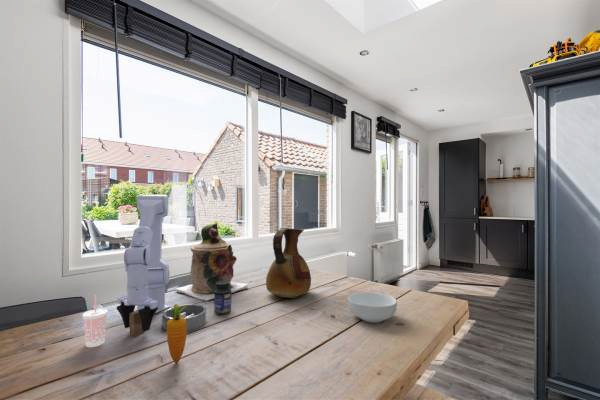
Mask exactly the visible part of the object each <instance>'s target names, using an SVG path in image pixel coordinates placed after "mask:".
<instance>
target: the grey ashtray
mask: <svg viewBox="0 0 600 400" xmlns="http://www.w3.org/2000/svg"><path fill="white" fill-rule="evenodd" d="M179 306H180V308H179V311H180V310H181V308H183V307H184V306H185V307H186V308H185V309H184V310H183V311H182V312H181V315H180V317H183V318H185V319H186V322H187V331H186V332H188V331H192V330H195V329H199V328H200V327H202V326H204V325H205V324H206V322H207V313H208V312H207V311H208V309H207V307H206V306H204V305H202V304H197V303H196V304H195V303H191V304H189V303H188V304H181V305H179ZM173 307H174V306H172V307H169V308H167V309H164V312H162V317H161V318H162V319H161V322H162V328H163V329H164V330H165V331H167V321H168V320H170V319H172V318H174V316H173V314H172V310H171V308H173ZM177 315H178V314H177Z"/></svg>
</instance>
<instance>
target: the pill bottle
mask: <svg viewBox="0 0 600 400" xmlns="http://www.w3.org/2000/svg"><path fill="white" fill-rule="evenodd" d="M216 287H217V289H216V290H215V291H214V300H213V302H214V303H213V306H214V307H213V309H214V310H213V312H214V314H216V315H220V316H223V315H228V314H230V312H231V311H232V293H231V289H230V288H229V282H228V281H220V282H217V283H216Z"/></svg>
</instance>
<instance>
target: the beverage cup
mask: <svg viewBox="0 0 600 400" xmlns="http://www.w3.org/2000/svg"><path fill="white" fill-rule="evenodd" d="M97 297H98V296H97V295H96V294H94V309H91V310H88V311H85V312H84V313H83V314H82V319H83V326H84V341H85V342H84V343H85V347H87V348H94V347H98V346H102V345H103V344H105V342H106V330H107V318H108V317H107V316H108V313H109V310H108V309H106V308H98V307H97V305H98V303H97V302H98V301H97V300H98V299H97Z"/></svg>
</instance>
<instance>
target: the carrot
mask: <svg viewBox="0 0 600 400" xmlns="http://www.w3.org/2000/svg"><path fill="white" fill-rule="evenodd" d="M172 307H173V308H172ZM172 307H170V308H171V310H172V314H173V316H174V318H172V319H170V320H168V321H167V330H166V339H167V340H166V341H167V347H168V351H169V354H170V357H171V359H172V361H173V363H175V364H178V363H179V362H180V360H181V358H182V356H183V354H184V351H185V346H186V341H187V332H188V331H187V322H186V319H185V318H183V317H180V315H181V312H182V311H183V310H184V309H185V308H186V307H185V306H184V307H183V308H181V310H180V311H179V308H180V305H178V304H177V303H175V304H174V305H173V306H172ZM177 314H178V315H177Z"/></svg>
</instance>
